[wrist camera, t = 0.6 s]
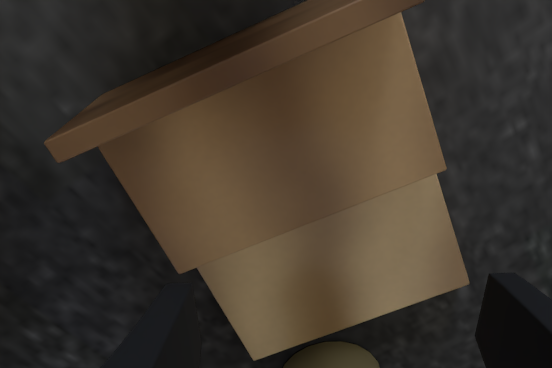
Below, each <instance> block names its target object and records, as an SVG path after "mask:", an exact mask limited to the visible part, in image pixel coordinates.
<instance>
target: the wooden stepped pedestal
mask: <svg viewBox="0 0 552 368" xmlns="http://www.w3.org/2000/svg"><path fill="white" fill-rule="evenodd" d="M424 1H425V0H307V1H305V2H302V3H300V4H298V5H296V6H294V7H292V8H289V9H287V10H285V11H283V12H281V13H278V14H276V15H274V16H272V17H270V18H268V19H265V20H263V21H261V22H259V23H257V24H254V25H252V26H250V27H248V28H246V29H244V30H241V31H239V32H237V33H235V34H233V35H230V36H228V37H226V38H224V39H222V40H220V41H217V42H215V43H213V44H211V45H209V46H207V47H204V48H202V49H200V50H198V51H196V52H193V53H191V54H189V55H187V56H185V57H183V58H180V59H178V60H176V61H174V62H172V63H169V64H167V65H165V66H163V67H161V68H159V69H156V70H154V71H152V72H150V73H148V74H145V75H143V76H141V77H139V78H137V79H135V80H132V81H130V82H128V83H126V84H124V85H122V86H119V87H117V88H115V89H113V90H111V91H108V92H106V93H104V94H102V95H101V96H99V97H98V98H97V99H96V100H95V101H93V102H92V103H91V104H90V105H88V106H87V107H86V108H85V109H84V110H82V111H81V112H80V113H79V114H77V115H76V116H75V117H74V118H73V119H71V120H70V121H69V122H68V123H66V124H65V125H64V126H63V127H62V128H60V129H59V130H58V131H57V132H55V133H54V134H53V135H52V136H50V137H49V138H48V139H47V140H46V141H45V142H44V144H45V146H46V147H47V149H48V150H49V152H50V153H51V155H52V156H53V157H54V159H55V160H56V162H57V163H61V162H64V161H66V160H68V159H70V158H73V157H75V156H77V155H79V154H82V153H84V152H86V151H88V150H91V149H93V148H95V147H97V146H98V148H99V150H100V151H101V153H102V154H103V156H104V157H105V159H106V161H107V162H108V164H109V165H110V167H111V168H112V170H113V172H114V173H115V175H116V176H117V178H118V179H119V181H120V183H121V184H122V186H123V187H124V189H125V190H126V192H127V194H128V195H129V197H130V198H131V200H132V201H133V203H134V205H135V206H136V208H137V209H138V211H139V212H140V214H141V216H142V217H143V219H144V220H145V222H146V223H147V225H148V227H149V228H150V230H151V231H152V233H153V234H154V236H155V238H156V239H157V241H158V242H159V244H160V245H161V247H162V249H163V250H164V252H165V253H166V255H167V256H168V258H169V260H170V261H171V263H172V264H173V266H174V267H175V269H176V271H177V272H178V274H181V273H184V272H187V271H189V270H192V269H194V268H197V269H198V271H199V272H200V274H201V276H202V277H203V279H204V281H205V282H206V284H207V285H208V287H209V289H210V290H211V292H212V294H213V295H214V297H215V299H216V300H217V302H218V303H219V305H220V307H221V308H222V310H223V312H224V313H225V315H226V316H227V318H228V320H229V321H230V323H231V325H232V326H233V328H234V330H235V331H236V333H237V334H238V336H239V338H240V339H241V341H242V343H243V344H244V346H245V348H246V349H247V351H248V352H249V354H250V356H251V357H252V359H253V360H254V361H255V360H258V359H261V358H264V357H266V356H269V355H272V354H275V353H278V352H280V351H283V350H286V349H289V348H292V347H294V346H297V345H300V344H303V343H306V342H308V341H311V340H314V339H317V338H320V337H322V336H325V335H328V334H331V333H334V332H336V331H339V330H342V329H345V328H348V327H351V326H353V325H356V324H359V323H362V322H365V321H367V320H370V319H373V318H376V317H379V316H381V315H384V314H387V313H390V312H393V311H395V310H398V309H401V308H404V307H407V306H409V305H412V304H415V303H418V302H421V301H423V300H426V299H429V298H432V297H435V296H437V295H440V294H443V293H446V292H449V291H452V290H454V289H457V288H460V287H463V286H466V285H468V284H469V279H468V276H467V273H466V269H465V266H464V263H463V259H462V256H461V253H460V250H459V246H458V243H457V240H456V237H455V233H454V230H453V227H452V223H451V220H450V217H449V214H448V210H447V207H446V204H445V200H444V197H443V194H442V191H441V187H440V184H439V181H438V178H437V173H439V172H442V171H444V170H446V165H445V161H444V158H443V154H442V151H441V148H440V144H439V141H438V137H437V134H436V131H435V127H434V124H433V120H432V117H431V113H430V110H429V107H428V103H427V100H426V96H425V93H424V90H423V86H422V83H421V79H420V76H419V72H418V69H417V66H416V62H415V59H414V55H413V52H412V49H411V45H410V42H409V38H408V35H407V31H406V28H405V25H404V21H403V18H402V14H401V12H402V11H404V10H407V9H409V8H411V7H414V6H416V5H418V4H420V3H423V2H424Z"/></svg>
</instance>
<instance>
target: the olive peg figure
mask: <svg viewBox="0 0 552 368" xmlns="http://www.w3.org/2000/svg"><path fill="white" fill-rule="evenodd" d="M283 368H380V367H379V364H378V362H377V360H376V359H375V358H374V357H373V356H372V354H371V353H370V352H368V351H367V350H365V349H363V348H361V347H360V346H358V345H355V344H350V343H346V342H342V341H339V342H322V343H318V344H315V345H311V346H308V347H306V348H304V349H303V350H301V351H299V352H297V353H295V354H294V355H293V356H292V357H291V358H290V359H289V360H288V361H287V362H286V363H285V364H284V366H283Z"/></svg>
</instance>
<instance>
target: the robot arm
mask: <svg viewBox="0 0 552 368" xmlns="http://www.w3.org/2000/svg"><path fill="white" fill-rule="evenodd" d="M475 337H476V340H477V343H478V346H479V349H480V352H481V355H482V358H483V361H484V363H485V366H486V368H552V300H551V299H550V298H549V297H547V296H546V295H545V294H543V293H542V292H541V291H539V290H538V289H537V288H535V287H534V286H533V285H531V284H530V283H528V282H527V281H526V280H524V279H523V278H521V277H520V276H518V275H517V274H515V273H491V274H489V276H488V280H487V284H486V289H485V293H484V298H483V302H482V306H481V311H480V315H479V320H478V324H477V328H476V333H475ZM201 344H202V343H201V336H200V330H199V323H198V317H197V310H196V304H195V297H194V290H193V284H192V283H167V284H166V285H165V286H164V287H163V289H162V290H161V291H160V293H159V294H158V296H157V297H156V298H155V300H154V301H153V303H152V304H151V305H150V307H149V308H148V309H147V311H146V312H145V313H144V315H143V316H142V317H141V319H140V320H139V321H138V323H137V324H136V325H135V327H134V328H133V329H132V330H131V332H130V333H129V334H128V335H127V337H126V338H125V339H124V340H123V342H122V343H121V344H120V345H119V347H118V348H117V349H116V350H115V351H114V353H113V354H112V355H111V356H110V357H109V358H108V359H107V361H106V362H105V363H104V364H103V365H102V366H101V367H100V368H199V363H200V354H201Z"/></svg>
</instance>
